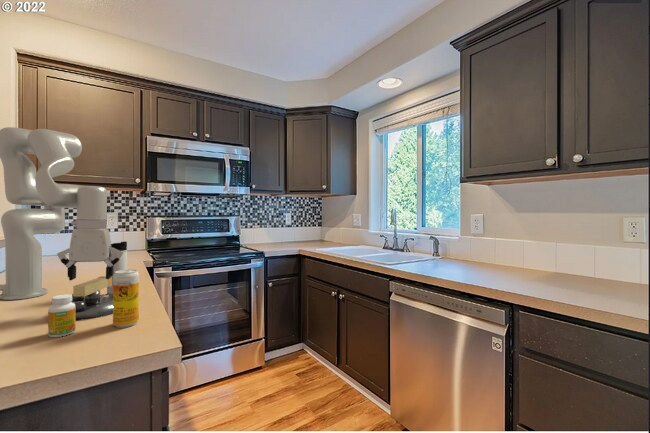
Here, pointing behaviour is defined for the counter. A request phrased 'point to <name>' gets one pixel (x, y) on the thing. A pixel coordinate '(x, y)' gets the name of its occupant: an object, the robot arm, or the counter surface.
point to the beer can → (125, 298)
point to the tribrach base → (92, 307)
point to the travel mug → (120, 264)
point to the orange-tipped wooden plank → (92, 289)
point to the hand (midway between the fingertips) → (91, 278)
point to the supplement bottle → (61, 316)
